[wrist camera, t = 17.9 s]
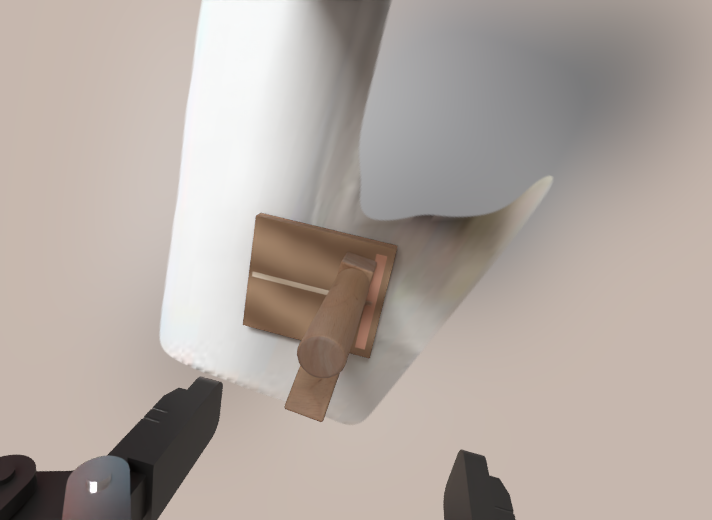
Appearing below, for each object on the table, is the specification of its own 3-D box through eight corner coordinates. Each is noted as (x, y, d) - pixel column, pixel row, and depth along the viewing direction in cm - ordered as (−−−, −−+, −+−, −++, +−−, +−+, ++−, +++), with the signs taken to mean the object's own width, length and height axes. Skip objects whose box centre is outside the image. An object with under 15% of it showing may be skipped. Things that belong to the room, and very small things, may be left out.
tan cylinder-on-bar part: (321, 331, 48) (267, 441, 32) (347, 250, 45) (302, 326, 28) (350, 341, 48) (311, 458, 31) (378, 261, 45) (352, 344, 28)
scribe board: (261, 212, 47) (256, 215, 45) (397, 245, 45) (396, 249, 44) (247, 319, 51) (242, 324, 50) (370, 351, 50) (369, 358, 49)
